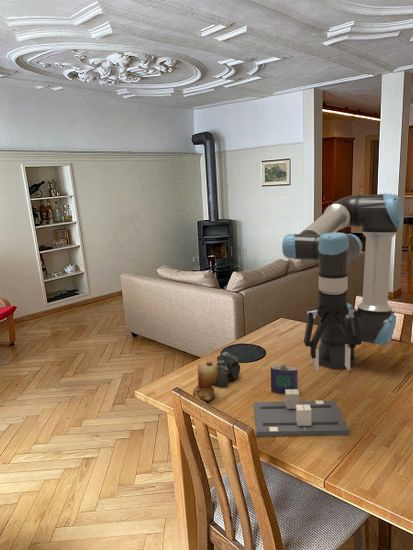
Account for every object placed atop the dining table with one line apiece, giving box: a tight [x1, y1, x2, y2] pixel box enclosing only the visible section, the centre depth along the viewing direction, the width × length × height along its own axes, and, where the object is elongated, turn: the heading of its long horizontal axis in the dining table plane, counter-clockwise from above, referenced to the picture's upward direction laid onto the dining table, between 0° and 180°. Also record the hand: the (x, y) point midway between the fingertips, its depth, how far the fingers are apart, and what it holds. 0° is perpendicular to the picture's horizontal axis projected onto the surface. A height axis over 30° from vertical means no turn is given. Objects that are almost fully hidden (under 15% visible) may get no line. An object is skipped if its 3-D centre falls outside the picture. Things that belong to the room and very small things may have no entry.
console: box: [253, 400, 349, 437], centre depth 125 cm, size 26×16×2 cm, turn 87°
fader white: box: [296, 404, 311, 426], centre depth 120 cm, size 4×3×5 cm
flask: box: [270, 362, 299, 395], centre depth 141 cm, size 9×3×11 cm, turn 74°
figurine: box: [192, 359, 218, 403], centre depth 140 cm, size 10×8×15 cm
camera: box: [213, 351, 241, 388], centre depth 153 cm, size 13×10×10 cm
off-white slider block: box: [284, 388, 300, 409], centre depth 129 cm, size 4×3×5 cm
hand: (331, 367), depth 116 cm, fingers open, 8 cm apart
